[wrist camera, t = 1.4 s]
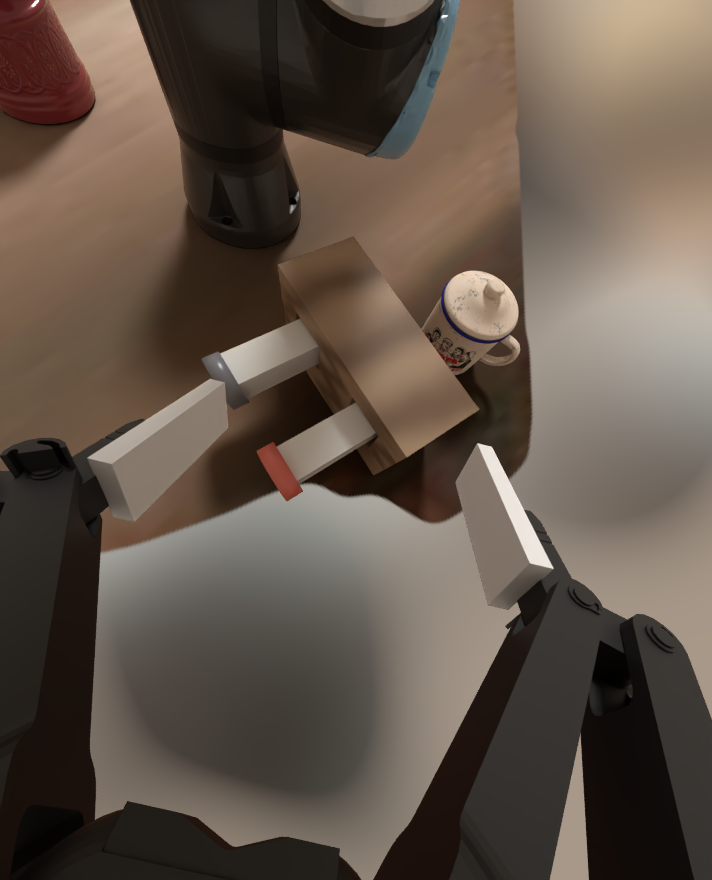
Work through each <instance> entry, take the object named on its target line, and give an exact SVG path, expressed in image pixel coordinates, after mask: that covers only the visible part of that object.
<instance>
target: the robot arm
mask: <svg viewBox="0 0 712 880" xmlns="http://www.w3.org/2000/svg"><path fill="white" fill-rule="evenodd" d="M130 2H131V5H132V8H133V10H134V13H135V16H136V19H137V22H138V24H139V27H140V30H141V33H142V35H143V38H144V41H145V44H146V46H147V49H148V52H149V55H150V57H151V60H152V63H153V66H154V69H155V71H156V74H157V77H158V80H159V82H160V85H161V88H162V91H163V93H164V96H165V99H166V102H167V104H168V107H169V110H170V113H171V115H172V118H173V121H174V124H175V126H176V129H177V132H178V135H179V139H180V149H181V161H182V172H183V183H184V191H185V195H186V198H187V201H188V204H189V206H190V209H191V211H192V214H193V216H194V218H195V220H196V221H197V223H198V224H199V225H200V226H201V228H202V229H203V230H205V231H206V232H207V233H208V234H209V235H211V236H212V237H214V238H216V239H218V240H220V241H222V242H224V243H227V244H230V245H233V246H238V247H244V248H260V247H267V246H271V245H274V244H276V243H279V242H281V241H283V240H284V239H286V238H287V237H289V236H290V235H291V234H292V233H293V232H294V230H295V229H296V228H297V226H298V224H299V221H300V217H301V199H300V191H299V186H298V183H297V180H296V177H295V174H294V171H293V168H292V165H291V162H290V159H289V155H288V152H287V149H286V146H285V143H284V139H283V129H284V130H287V131H290V132H293V133H297V134H300V135H303V136H306V137H309V138H312V139H316V140H319V141H322V142H325V143H328V144H331V145H335V146H338V147H341V148H344V149H347V150H350V151H354V152H357V153H360V154H363V155H365V156H367V157H374V156H376V157H381V158H386V159H398V158H400V157H401V156H403V155H404V154H405V153H406V152H407V151H408V150H409V148H410V147H411V145H412V144H413V142H414V140H415V138H416V136H417V134H418V132H419V130H420V128H421V126H422V123H423V121H424V119H425V116H426V114H427V111H428V109H429V106H430V104H431V101H432V98H433V95H434V92H435V87H436V81H437V79H438V78H439V75H440V73H441V70H442V68H443V65H444V62H445V59H446V56H447V53H448V49H449V46H450V42H451V38H452V35H453V31H454V27H455V23H456V19H457V14H458V9H459V4H460V0H130ZM227 429H228V417H227V403H226V389H225V382H221V381H217V380H213V379H209V380H208V381H206V382H204V383H203V384H201V385H200V386H198V387H197V388H195V389H194V390H192V391H190V392H189V393H187V394H186V395H184V396H183V397H181V398H180V399H178V400H176V401H175V402H173V403H172V404H170V405H169V406H167V407H166V408H164V409H162V410H161V411H159V412H158V413H156V414H155V415H153V416H152V417H150V418H148V419H147V420H144V419H140V420H137V421H134V422H131V423H128V424H126V425H124V426H122V427H121V428H119V429H117V430H116V431H115V432H112V433H111V434H109V435H107V436H106V437H105V439H104V438H103V439H101V440H99V441H98V442H96V443H94V444H93V445H91V446H89V447H88V448H86V449H85V450H83V451H81V452H80V453H78V454H76V455H75V456H73V457H72V456H71V454H70V452H69V450H68V448H67V446H66V444H65V442H63V441H61V440H60V439H54V438H38V439H32V440H27V441H24V442H21V443H18V444H15V445H13V446H11V447H9V448H8V449H6V450H4V451H3V453H2V454H1V455H0V457H1V459H2V460H3V462H4V463H5V464H6V466H7V467H8V469H9V470H10V471H0V880H361V879H360V877H359V876H358V874H357V873H356V872H355V871H354V870H353V869H352V867H351V866H350V865H349V864H348V863H347V862H346V861H345V860H344V859H342V858H341V857H340V856H339V852H340V849H339V848H335V847H330V846H326V845H321V844H316V843H312V842H308V841H303V840H299V839H294V838H290V837H278V838H274V839H269V840H265V841H261V842H257V843H252V844H248V845H244V846H239V847H233V846H231V845H229V844H228V843H227V842H226V841H224V840H223V839H222V838H221V837H220V836H218V835H217V834H216V833H215V832H213V831H212V830H211V829H210V828H208V826H206V825H205V824H204V823H203V822H201V821H200V820H199V819H198V818H196V817H192V816H189V815H185V814H182V813H178V812H174V811H169V810H164V809H160V808H156V807H151V806H147V805H142V804H138V803H133V802H129V801H127V803H126V805H125V807H124V809H123V810H119V811H115V812H113V813H110V814H107V815H104V816H102V817H100V818H98V819H96V820H95V801H96V778H95V771H94V766H93V762H92V759H91V754H90V729H91V711H92V693H93V676H94V658H95V639H96V622H97V604H98V586H99V568H100V551H101V533H102V518H101V515H100V513H101V512H102V511H103V510H104V509H106V508H107V507H108V506H109V508H110V510H111V513H112V515H113V517H115V518H120V519H124V520H128V521H132V522H135V521H136V520H137V519H138V518H139V517H140V516H141V515H142V514H143V513H144V512H145V511H146V510H147V509H148V508H149V507H150V506H151V505H152V504H153V503H154V502H155V501H156V500H157V499H158V498H159V497H160V496H161V495H162V494H163V493H164V492H165V491H166V490H167V489H168V488H169V487H170V486H171V485H172V484H173V483H174V482H175V481H176V480H177V479H178V478H179V477H180V476H181V475H182V474H183V473H184V472H185V471H186V470H187V469H188V468H189V467H190V466H191V465H192V464H193V463H194V462H195V461H196V460H197V459H198V458H199V457H200V456H201V455H202V454H203V453H204V452H205V451H206V450H207V449H208V448H209V447H210V446H211V445H212V444H213V443H214V442H215V441H216V440H217V439H218V438H219V437H220V436H221V435H222V434H223V433H224V432H225V431H226V430H227ZM455 483H456V486H457V490H458V494H459V498H460V502H461V505H462V509H463V513H464V517H465V520H466V524H467V528H468V532H469V536H470V539H471V543H472V547H473V551H474V554H475V558H476V562H477V566H478V569H479V573H480V577H481V581H482V585H483V588H484V592H485V596H486V600H487V604H488V605H489V606H494V607H498V608H503V609H507V610H508V609H510V608H511V607H512V606H513V605H514V604H515V603H516V602H518V605H519V608H520V611H521V613H520V614H519V615H518V616H517V617H515V618H514V619H513V620H512V621H511V622H510V623H508V624H507V625H506V628H507V629H509V628H510V627H511V628H510V630H509V632H508V634H507V636H506V638H505V640H504V642H503V644H502V646H501V648H500V649H499V651H498V654H497V655H496V657H495V659H494V661H493V663H492V665H491V667H490V669H489V671H488V673H487V675H486V677H485V679H484V681H483V683H482V685H481V686H480V689H479V690H478V692H477V694H476V696H475V698H474V700H473V702H472V704H471V706H470V708H469V710H468V712H467V714H466V716H465V718H464V720H463V722H462V723H461V725H460V727H459V729H458V731H457V733H456V735H455V737H454V739H453V741H452V743H451V745H450V747H449V749H448V751H447V753H446V755H445V757H444V759H443V760H442V762H441V764H440V766H439V768H438V770H437V772H436V774H435V776H434V778H433V780H432V782H431V784H430V786H429V788H428V790H427V791H426V794H425V795H424V797H423V799H422V801H421V803H420V805H419V807H418V809H417V811H416V813H415V815H414V817H413V818H412V820H411V822H410V823H409V825H408V826H407V827H406V828H405V830H404V831H403V832H402V833H401V834H400V835H399V837H398V838H397V839H396V841H395V842H394V843H393V845H392V846H391V848H390V850H389V852H388V854H387V855H386V857H385V859H384V860H383V862H382V864H381V866H380V868H379V870H378V872H377V874H376V876H375V878H374V879H373V880H550V875H551V870H552V865H553V861H554V856H555V851H556V846H557V842H558V837H559V832H560V827H561V823H562V818H563V813H564V808H565V804H566V799H567V794H568V789H569V784H570V780H571V775H572V770H573V766H574V760H575V756H576V751H577V746H578V742H579V737H580V732H581V746H582V747H581V748H582V766H583V783H584V798H585V799H584V801H585V817H586V836H587V853H588V870H589V880H712V719H711V717H710V713H709V711H708V708H707V705H706V703H705V700H704V697H703V695H702V692H701V689H700V686H699V684H698V681H697V678H696V676H695V673H694V670H693V668H692V665H691V662H690V660H689V657H688V654H687V653H686V651H685V649H684V647H683V645H682V644H681V643H680V642H679V640H678V639H677V638H676V637H675V636H674V634H673V633H671V632H670V631H669V630H668V629H667V628H666V627H664V626H663V625H662V624H660V623H659V622H658V621H656V620H655V619H653V618H651V617H649V616H646V615H643V614H636V615H634V616H633V617H631V618H629V619H628V620H627V619H625V618H623V617H621V616H619V615H617V614H615V613H613V612H611V611H609V610H607V609H605V608H603V607H602V604H601V602H600V601H599V600H598V598H597V597H596V596H595V595H594V593H593V592H592V591H590V590H589V589H588V588H587V587H586V586H585V585H583V584H581V583H579V582H578V581H576V580H574V579H572V578H571V576H570V574H569V573H568V571H567V569H566V567H565V565H564V563H563V562H562V560H561V558H560V556H559V554H558V553H557V551H556V549H555V547H554V545H552V542H551V540H550V538H549V536H548V535H547V533H546V531H545V529H544V527H543V525H542V523H541V522H540V521H539V520H538V519H537V518H536V516H535V515H534V514H533V513H532V512H531V511H527V510H524V509H523V508H522V506H521V503H520V501H519V500H518V498H517V496H516V494H515V492H514V490H513V488H512V486H511V484H510V482H509V480H508V478H507V476H506V474H505V472H504V470H503V468H502V466H501V464H500V462H499V460H498V458H497V456H496V454H495V452H494V450H493V448H492V447H490V446H486V445H481V444H477V445H476V447H475V448H474V450H473V452H472V454H471V456H470V457H469V459H468V461H467V463H466V464H465V466H464V468H463V470H462V472H461V473H460V475H459V477H458V479H457V481H456V482H455Z"/></svg>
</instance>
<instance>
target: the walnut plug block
mask: <svg viewBox="0 0 712 880" xmlns="http://www.w3.org/2000/svg"><path fill="white" fill-rule="evenodd" d="M278 272H279V279H280V287H281V294H282V301H283V308H284V315H285V322H286V325H287V324H289V323H291V322H294V321H296V320H298V319H301V320H302V322H303V324H304V325H305V327H306V328H307V330H308V331H309V333H310V334H311V336H312V337H313V339H314V340H315V342H316V343H317V345H318V346H319V348H320V355H319V364H317V365H315V366H313V367H311V368H309V369H307V370H306V372H307V373H308V375H309V377H310V378H311V380H312V381H313V383H314V384H315V386H316V387H317V389H318V390H319V392H320V394H321V395H322V397H323V398H324V400H325V401H326V403H327V404H328V406H329V407H330V409H331V411H332V412H333V414H336V413H338V412H340V411H341V410H343V409H345V408H347V407H348V406H350V405H352V404H354V403H356V404H357V405H358V407H359V408H360V410H361V411H362V413H363V414H364V416H365V417H366V419H367V420H368V422H369V423H370V425H371V426H372V428H373V429H374V431H375V432H376V434H377V435H378V436H377V437H375V438H373V439H372V440H370V441H369V442H367V443H365V444H364V445H362V446H360V447H359V448H357V451H358V452H359V454H360V455H361V457H362V458H363V460H364V462H365V463H366V465H367V466H368V468H369V469H370V471H371V472H372V474H373V476H374V475H375V474H377V473H379V472H381V471H383V470H385V469H387V468H388V467H390V466H392V465H394V464H396V463H398V462H399V461H401V460H403V459H405V458H407V457H408V456H410V455H411V454H413V453H414V452H416V451H417V450H419V449H420V448H422V447H423V446H425V445H426V444H428V443H429V442H431V441H432V440H434V439H435V438H437V437H439V436H440V435H442V434H443V433H445V432H446V431H448V430H449V429H451V428H452V427H454V426H455V425H457V424H458V423H460V422H461V421H463V420H464V419H466V418H467V417H469V416H470V415H472V414H473V413H475V412H476V411H478V410H479V408H478V407H477V406H476V404H475V403H474V402H473V400H472V399H471V397H470V396H469V395H468V393H467V392H466V391H465V389H464V388H463V386H462V385H461V384H460V382H459V381H458V380H457V378H456V377H455V375H454V374H453V373H452V371H451V370H450V369H449V367H448V366H447V364H446V363H445V362H444V360H443V359H442V358H441V356H440V355H439V353H438V352H437V351H436V349H435V348H434V347H433V345H432V344H431V342H430V341H429V340H428V338H427V337H426V336H425V334H424V333H423V331H422V330H421V329H420V327H419V326H418V325H417V323H416V322H415V320H414V319H413V318H412V316H411V315H410V314H409V312H408V311H407V309H406V308H405V307H404V305H403V304H402V303H401V301H400V300H399V298H398V297H397V296H396V294H395V293H394V292H393V290H392V289H391V287H390V286H389V285H388V283H387V282H386V281H385V279H384V278H383V276H382V275H381V274H380V272H379V271H378V270H377V268H376V267H375V265H374V264H373V263H372V261H371V260H370V258H369V257H368V256H367V254H366V253H365V252H364V250H363V249H362V247H361V246H360V245H359V243H358V242H357V241H356V239H355V238H354V237H351V238H348V239H346V240H343V241H340V242H338V243H335V244H332V245H329V246H327V247H324V248H321V249H319V250H316V251H313V252H311V253H308V254H305V255H302V256H300V257H297V258H294V259H292V260H289V261H286V262H284V263H281V264H278Z"/></svg>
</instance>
